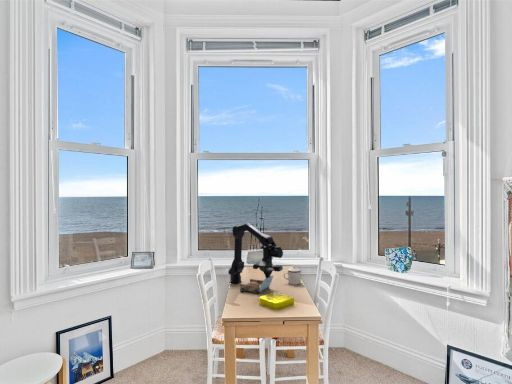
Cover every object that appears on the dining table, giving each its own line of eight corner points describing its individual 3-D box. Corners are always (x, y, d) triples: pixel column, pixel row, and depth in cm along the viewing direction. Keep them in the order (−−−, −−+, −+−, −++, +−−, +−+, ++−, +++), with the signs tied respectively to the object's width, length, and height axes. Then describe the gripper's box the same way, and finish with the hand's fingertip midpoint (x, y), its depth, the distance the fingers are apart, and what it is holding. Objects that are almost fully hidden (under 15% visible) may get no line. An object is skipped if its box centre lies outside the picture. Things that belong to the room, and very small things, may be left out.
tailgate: (259, 290, 198) (263, 280, 197) (268, 285, 210) (272, 275, 209) (260, 291, 197) (264, 281, 196) (269, 286, 209) (273, 275, 208)
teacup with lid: (299, 280, 227) (299, 264, 227) (302, 284, 218) (302, 267, 218) (282, 281, 226) (282, 264, 226) (284, 285, 217) (284, 267, 217)
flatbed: (239, 291, 203) (239, 284, 203) (251, 285, 217) (251, 278, 217) (259, 294, 196) (259, 287, 196) (270, 287, 211) (270, 280, 211)
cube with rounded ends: (247, 287, 203) (247, 282, 203) (250, 286, 206) (250, 281, 206) (258, 288, 200) (257, 283, 200) (260, 287, 203) (260, 282, 203)
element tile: (257, 304, 180) (257, 296, 180) (276, 298, 190) (276, 290, 190) (276, 311, 169) (276, 302, 169) (295, 305, 179) (295, 296, 179)
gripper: (248, 257, 204) (248, 281, 204) (275, 259, 195) (276, 285, 195) (256, 254, 214) (257, 277, 213) (282, 256, 205) (283, 281, 205)
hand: (267, 280), depth 206 cm, fingers closed
